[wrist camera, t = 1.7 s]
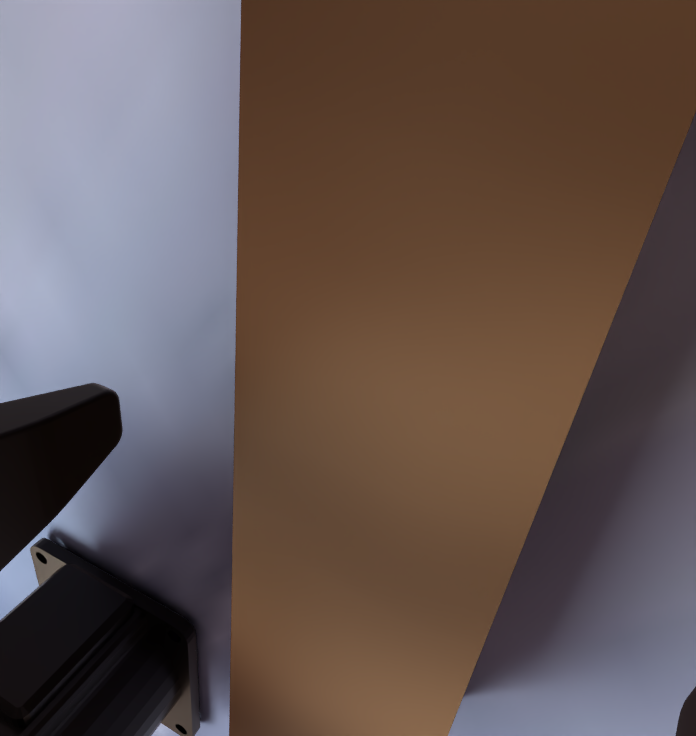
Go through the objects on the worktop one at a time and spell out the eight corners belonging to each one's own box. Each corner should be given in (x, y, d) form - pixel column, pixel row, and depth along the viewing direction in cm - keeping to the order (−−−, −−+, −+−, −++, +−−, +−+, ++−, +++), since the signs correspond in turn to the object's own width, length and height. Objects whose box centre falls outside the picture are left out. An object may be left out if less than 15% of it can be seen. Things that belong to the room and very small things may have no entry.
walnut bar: (463, 688, 15) (398, 860, 12) (320, 611, 17) (229, 751, 14) (794, -156, 7) (851, -282, 3) (434, -180, 8) (245, -288, 5)
